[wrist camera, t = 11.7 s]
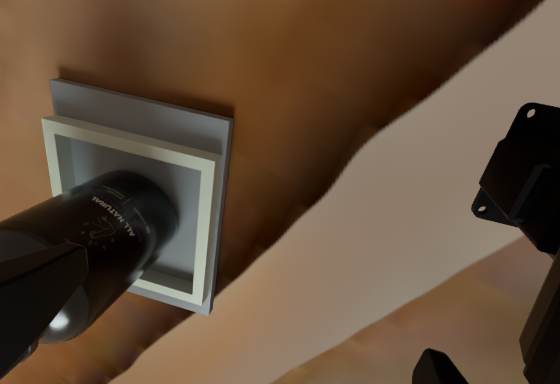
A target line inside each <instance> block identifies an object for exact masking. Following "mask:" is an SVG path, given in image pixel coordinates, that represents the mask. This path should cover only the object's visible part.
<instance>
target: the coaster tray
mask: <svg viewBox="0 0 560 384" xmlns="http://www.w3.org/2000/svg"><path fill="white" fill-rule="evenodd" d="M50 87H51V95H52V102H53V110H54V115H53V116H49V117H44V118H41V121H42V127H43V134H44V141H45V147H46V154H47V160H48V167H49V174H50V180H51V187H52V193H53V197H55V196H57V195H59V194H61V193H63V192H65V191H67V190H70V189H72V188H74V187H76V186H78V185H80V184H82V183H85V182H87V181H89V180H91V179H93V178H95V177H98V176H100V175H102V174H104V173H107V172H110V171H115V170H128V171H132V172H136V173H139V174H141V175H143V176H145V177H147V178H149V179H150V180H152V181H153V182H154V183H156V184H157V185H158V186H159V187H160V188H161V189H162V190H163V191H164V193H165V194H166V195H167V197H168V198H169V200H170V202H171V203H172V206H173V208H174V211H175V214H176V220H177V230H176V235H175V238H174V241H173V242H172V244H171V246H170V247H169V248H168V249H167V250H166V251H165V252H164V253H163V254H162V256H161V257H160V258H159V259H158V260H157V261H156V262H155V263H154V264H153V265H152V266H151V267H150V268H149V269H148V270H147V271H146V272H145V273H143V274H142V275H141V276H140V277H139V278H138V279H137V280H136V281H135V282H134V283H133V284H132V285H131V286H130V287H129V288H128V289H127V290H126V291H129V292H132V293H135V294H139V295H142V296H145V297H148V298H152V299H155V300H158V301H161V302H165V303H168V304H171V305H174V306H178V307H181V308H184V309H187V310H191V311H194V312H197V313H200V314H204V315H207V316H209V315H210V313H211V311H212V309H213V301H214V292H215V283H216V274H217V265H218V256H219V247H220V238H221V229H222V220H223V211H224V202H225V193H226V184H227V175H228V166H229V158H230V149H231V140H232V131H233V122H234V118H229V117H225V116H221V115H216V114H212V113H208V112H203V111H199V110H195V109H190V108H186V107H182V106H177V105H173V104H169V103H164V102H160V101H156V100H151V99H147V98H143V97H138V96H134V95H130V94H125V93H121V92H117V91H112V90H108V89H104V88H99V87H95V86H91V85H86V84H82V83H78V82H74V81H69V80H65V79H61V78H58V79H50Z"/></svg>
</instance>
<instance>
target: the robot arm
mask: <svg viewBox="0 0 560 384" xmlns="http://www.w3.org/2000/svg"><path fill="white" fill-rule="evenodd" d="M532 109H535V114H534V115H533V116H532V117H530V118H528V117H527V113H528V112H529V111H530V110H532ZM479 184H480V186H481V188H480V190H479V192H478V194H477V196H476V198H475V200H474V202H473V204H472V207H471V210H472V212H473V213H474V215H475V216H476V217H478V218H481V219H485V220H490V221H494V222H498V223H502V224H506V225H510V226H514V227H518V228H519V229H520V230H521V231H522V232H523V233H524V234H525V236H526V237H527V238H528V239H529V240H530V241H531V242H532V244H533V245H534V246H535V247H536V248H537V249H538V250H539V251H541V252H545V253H548V255H549V256H550V257H551V258H552V259H553V260H554V261H553V263H552V265H551V267H550V270H549V272H548V274H547V276H546V279H545V281H544V283H543V285H542V288H541V290H540V292H539V294H538V296H537V299H536V301H535V303H534V305H533V308H532V310H531V312H530V314H529V317H528V319H527V321H526V323H525V326H524V328H523V331H522V333H521V336H520V339H519V342H520V347H521V352H522V356H523V361H524V363H525V365H526V366H525V368H524V370H523V373H524V376H525V377H526V379H527V381H528V382H529V384H560V108H558V107H554V106H549V105H544V104H539V103H527V104H525V105H523V106H522V107H521V108H520V109H519V111H518V113H517V115H516V117H515V119H514V121H513V123H512V125H511V127H510V129H509V131H508V133H507V135H506V137H505V138H504V139H503V140H501V141H499V142H498V144H497V147H496V148H495V150H494V153H493V155H492V157H491V159H490V161H489V163H488V165H487V167H486V169H485V171H484V173H483V175H482V177H481V179H480V181H479ZM482 206H485V207H486V208H485V210H483V211H478V209H479V208H480V207H482ZM87 273H88V262H87V253H86V249H85V247H84V246H82V245H79V244H76V243H72V242H67V243H64V244H60V245H57V246H53V247H50V248H46V249H43V250H40V251H36V252H33V253H29V254H26V255H22V256H19V257H15V258H12V259H9V260H5V261H2V262H0V378H1V377H2V376H3V375H4V374H5V373H6V372H7V371H8V370H9V369H10V367H11V366H12V365H13V364H14V363H15V362H16V361H17V360H18V359H19V358H20V357H21V356H22V354H23V353H24V352H25V351H26V350H27V349H28V348H29V347H30V346H31V345H32V344H33V343H34V341H35V340H36V339H37V338H38V337H39V336H40V335H41V334H42V333H43V332H44V330H45V329H46V328H47V327H48V326H49V324H50V323H51V322H52V321H53V320H54V318H55V317H56V316H57V314H58V313H59V312H60V311H61V309H62V308H63V307H64V305H65V304H66V303H67V301H68V300H69V299H70V298H71V296H72V295H73V294H74V292H75V291H76V290H77V289H78V287H79V286H80V285H81V283H82V282H83V281H84V279H85V278H86V276H87ZM412 384H469V383H468V382H467V381H466V379H465V378H464V377H463V376H462V374H461V373H460V372H459V370H458V369H457V368H456V366H455V365H454V364H453V362H452V361H451V360H450V358H449V357H448V356H447V355H446V354H445V353H443V352H441V351H437V350H434V349H431V348H427V349H425V350H424V352H423V353H422V355H421V357H420V359H419V361H418V363H417V364H416V366H415V368H414V371H413V375H412Z"/></svg>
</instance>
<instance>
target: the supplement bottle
mask: <svg viewBox="0 0 560 384" xmlns="http://www.w3.org/2000/svg"><path fill="white" fill-rule="evenodd" d="M176 230H177V220H176V214H175V211H174V208H173V206H172V203H171V202H170V200H169V198H168V197H167V195H166V194H165V193H164V191H163V190H162V189H161V188H160V187H159V186H158V185H157V184H156V183H154V182H153V181H152V180H150V179H149V178H147V177H145V176H143V175H141V174H139V173H136V172H132V171H128V170H115V171H110V172H107V173H104V174H102V175H100V176H98V177H95V178H93V179H91V180H89V181H87V182H85V183H82V184H80V185H78V186H76V187H74V188H72V189H70V190H67V191H65V192H63V193H61V194H59V195H57V196H55V197H52V198H50V199H48V200H46V201H44V202H42V203H39V204H37V205H35V206H33V207H31V208H29V209H27V210H24V211H22V212H20V213H18V214H16V215H14V216H12V217H9V218H7V219H5V220H3V221H1V222H0V262H2V261H5V260H9V259H12V258H15V257H19V256H22V255H26V254H29V253H33V252H36V251H40V250H43V249H46V248H50V247H53V246H57V245H60V244H64V243H67V242H72V243H76V244H79V245H82V246H84V247H85V249H86V253H87V262H88V273H87V276H86V278H85V279H84V281H83V282H82V283H81V285H80V286H79V287H78V289H77V290H76V291H75V292H74V294H73V295H72V296H71V298H70V299H69V300H68V301H67V303H66V304H65V305H64V307H63V308H62V309H61V311H60V312H59V313H58V314H57V316H56V317H55V318H54V320H53V321H52V322H51V323H50V324H49V326H48V327H47V328H46V329H45V330H44V332H43V333H42V334H41V335H40V336H39V337H38V338H37V339H36V340H35V341H34V343H33V344H32V345H31V346H30V347H29V348H28V349H27V350H26V351H25V352H24V353H23V354H22V356H21V357H20V358H19V359H18V360H17V361H16V362H15V363H14V364H13V365H12V366H11V367H10V369H9V370H8V371H7V372H6V373H5V374H4V375H3V376H2V377H1V378H0V380H1V379H2V378H3V377H4V376H5V375H7V374H8V373H9V372H10V371H11V370H12V369H13V368H14V367H15V366H17V365H18V364H19V363H21V362H23V361H25V360H26V359H27V358H28V357H29V356H30V355H31V354H32V353H33V352H34V351H35V350H36V349H37V346H38V344H57V343H62V342H65V341H68V340H71V339H73V338H75V337H77V336H79V335H80V334H82V333H83V332H84V331H85V330H86V329H88V328H89V327H90V326H91V325H92V324H93V323H94V322H95V321H96V320H97V319H98V318H99V317H100V316H101V315H102V314H103V313H104V312H105V311H106V310H107V309H108V308H109V307H110V306H111V305H112V304H113V303H114V302H115V301H116V300H117V299H118V298H119V297H120V296H121V295H122V294H123V293H124V292H125V291H126V290H127V289H128V288H129V287H130V286H131V285H132V284H133V283H134V282H135V281H136V280H137V279H138V278H139V277H140V276H141V275H142V274H143V273H145V272H146V271H147V270H148V269H149V268H150V267H151V266H152V265H153V264H154V263H155V262H156V261H157V260H158V259H159V258H160V257H161V256H162V254H163V253H164V252H165V251H166V250H167V249H168V248H169V247H170V246H171V244H172V242H173V241H174V238H175V235H176Z"/></svg>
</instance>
